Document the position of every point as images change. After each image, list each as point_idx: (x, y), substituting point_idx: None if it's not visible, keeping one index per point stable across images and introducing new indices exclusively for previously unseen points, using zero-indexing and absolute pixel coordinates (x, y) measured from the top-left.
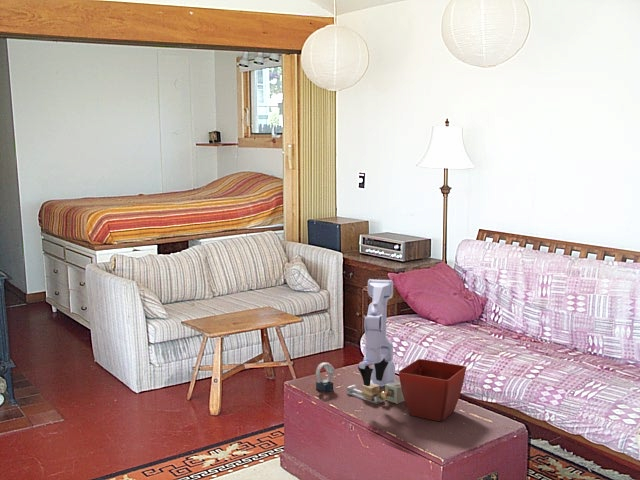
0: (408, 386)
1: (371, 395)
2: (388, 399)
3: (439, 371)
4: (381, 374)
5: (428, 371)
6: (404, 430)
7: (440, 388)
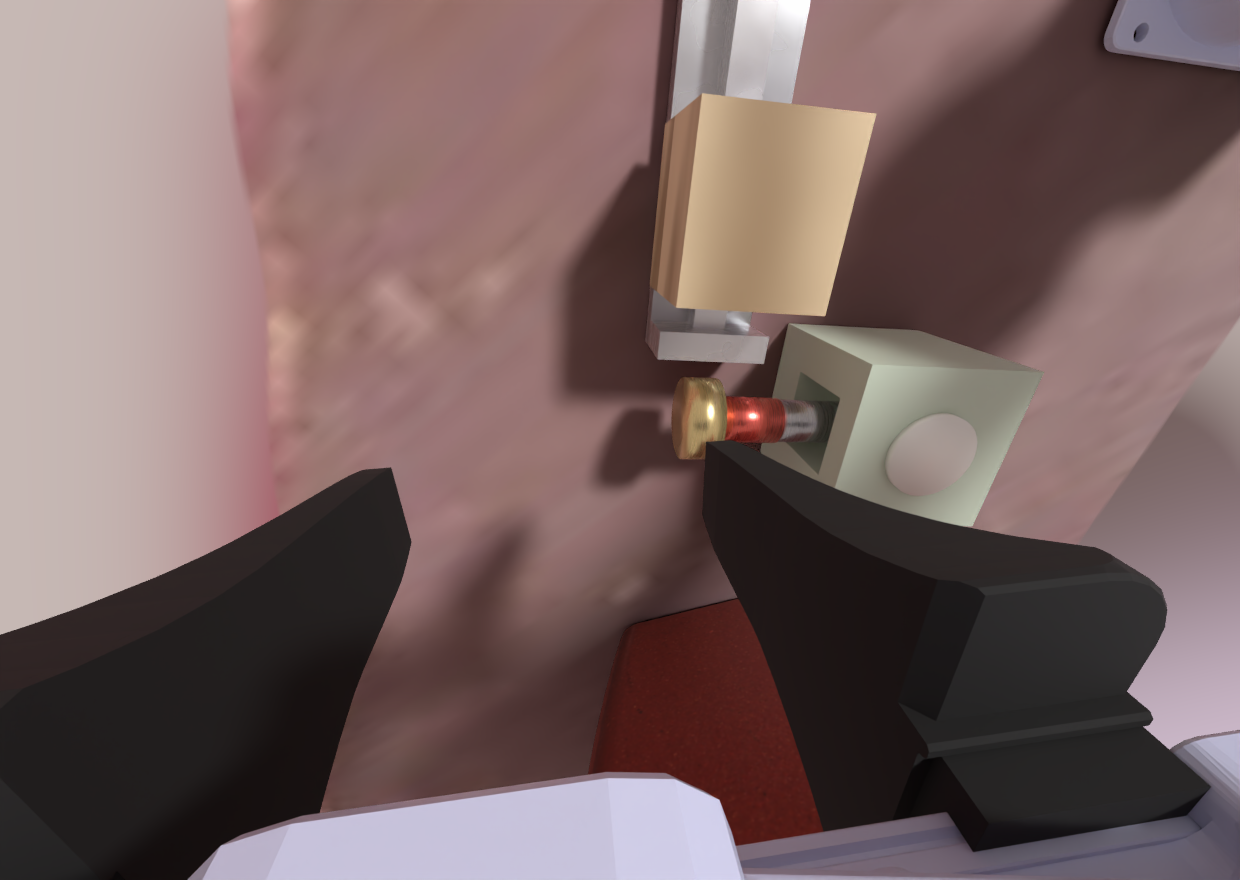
0: None
1: (658, 291)
2: (784, 366)
3: None
4: (742, 590)
5: None
6: (416, 724)
7: None
